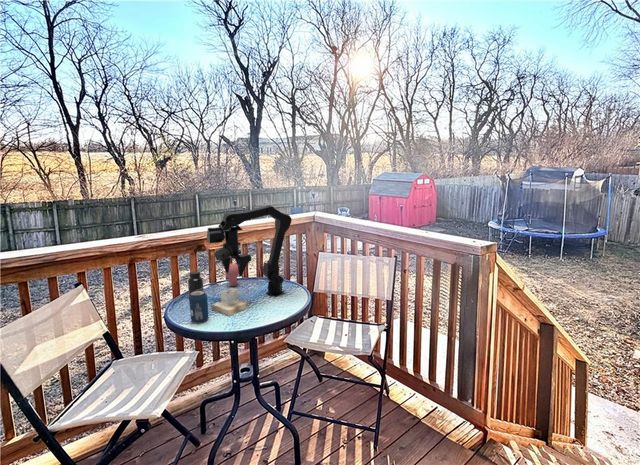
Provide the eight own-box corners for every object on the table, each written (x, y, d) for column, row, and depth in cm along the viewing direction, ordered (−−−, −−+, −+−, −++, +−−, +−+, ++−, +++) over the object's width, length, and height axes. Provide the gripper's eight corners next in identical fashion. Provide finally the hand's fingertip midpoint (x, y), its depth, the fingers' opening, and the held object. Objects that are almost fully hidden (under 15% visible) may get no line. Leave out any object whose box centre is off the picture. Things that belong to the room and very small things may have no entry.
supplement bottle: (199, 299, 176) (197, 275, 174) (186, 298, 177) (184, 274, 175) (206, 294, 183) (204, 270, 180) (193, 293, 184) (191, 270, 182)
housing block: (232, 300, 168) (231, 287, 167) (239, 302, 165) (238, 289, 164) (221, 304, 164) (220, 291, 162) (228, 306, 161) (227, 293, 160)
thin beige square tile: (232, 302, 173) (232, 296, 172) (248, 307, 166) (248, 302, 166) (212, 309, 164) (212, 304, 164) (228, 316, 158) (228, 310, 157)
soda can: (203, 315, 159) (201, 288, 156) (212, 320, 154) (209, 292, 152) (187, 320, 154) (185, 292, 152) (196, 325, 149) (194, 297, 147)
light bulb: (227, 289, 189) (226, 266, 187) (225, 284, 196) (223, 262, 193) (242, 287, 192) (240, 264, 189) (239, 282, 198) (237, 260, 196)
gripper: (203, 241, 167) (206, 275, 170) (231, 247, 156) (233, 283, 159) (224, 237, 176) (226, 269, 179) (251, 242, 164) (253, 276, 168)
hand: (233, 274), depth 171 cm, fingers open, 9 cm apart
